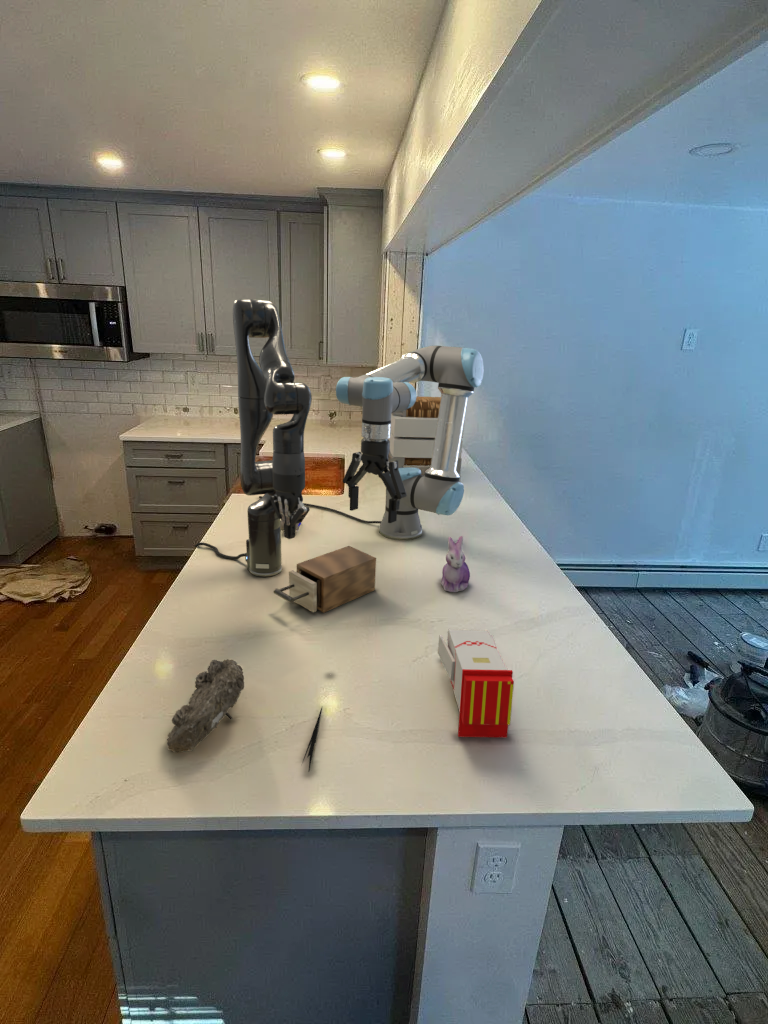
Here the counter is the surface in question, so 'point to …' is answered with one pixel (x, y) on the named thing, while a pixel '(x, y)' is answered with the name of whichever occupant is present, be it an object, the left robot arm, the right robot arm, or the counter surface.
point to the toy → (478, 682)
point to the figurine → (455, 568)
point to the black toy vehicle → (283, 525)
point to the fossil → (206, 705)
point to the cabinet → (342, 575)
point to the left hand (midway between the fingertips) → (289, 537)
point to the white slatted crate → (416, 434)
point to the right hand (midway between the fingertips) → (372, 515)
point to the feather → (313, 740)
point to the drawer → (302, 590)
